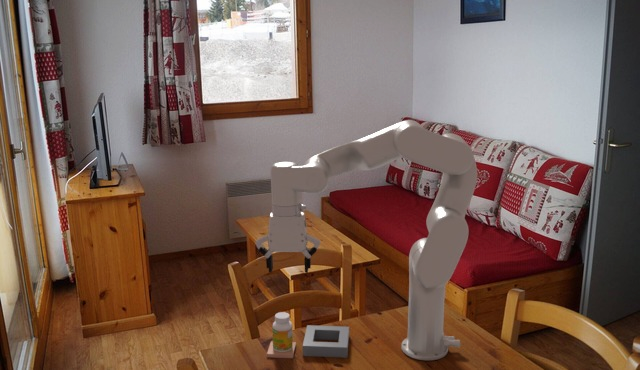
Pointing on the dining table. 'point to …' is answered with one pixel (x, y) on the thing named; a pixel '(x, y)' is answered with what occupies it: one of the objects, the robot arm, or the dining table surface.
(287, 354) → the mat
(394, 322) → the dining table surface
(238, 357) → the dining table surface
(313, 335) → the frame
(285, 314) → the supplement bottle
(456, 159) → the robot arm
